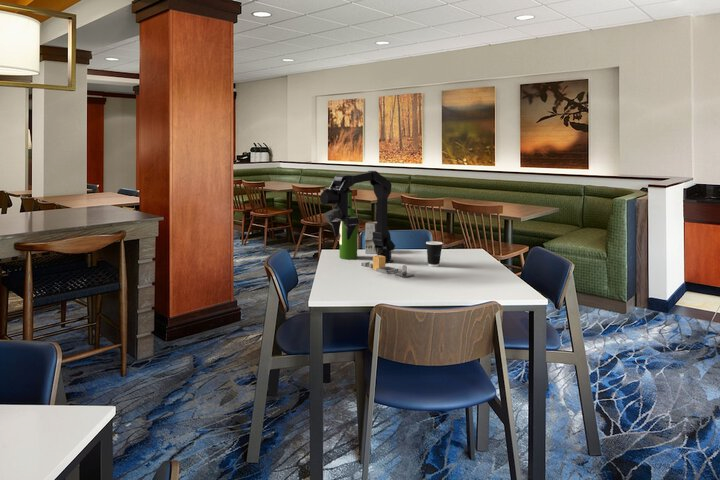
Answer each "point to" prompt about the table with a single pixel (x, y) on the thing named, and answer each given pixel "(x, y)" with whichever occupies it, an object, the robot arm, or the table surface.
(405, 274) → the keeper
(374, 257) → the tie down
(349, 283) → the table surface
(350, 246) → the wine bottle
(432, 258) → the dixie cup
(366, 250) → the coffee box
